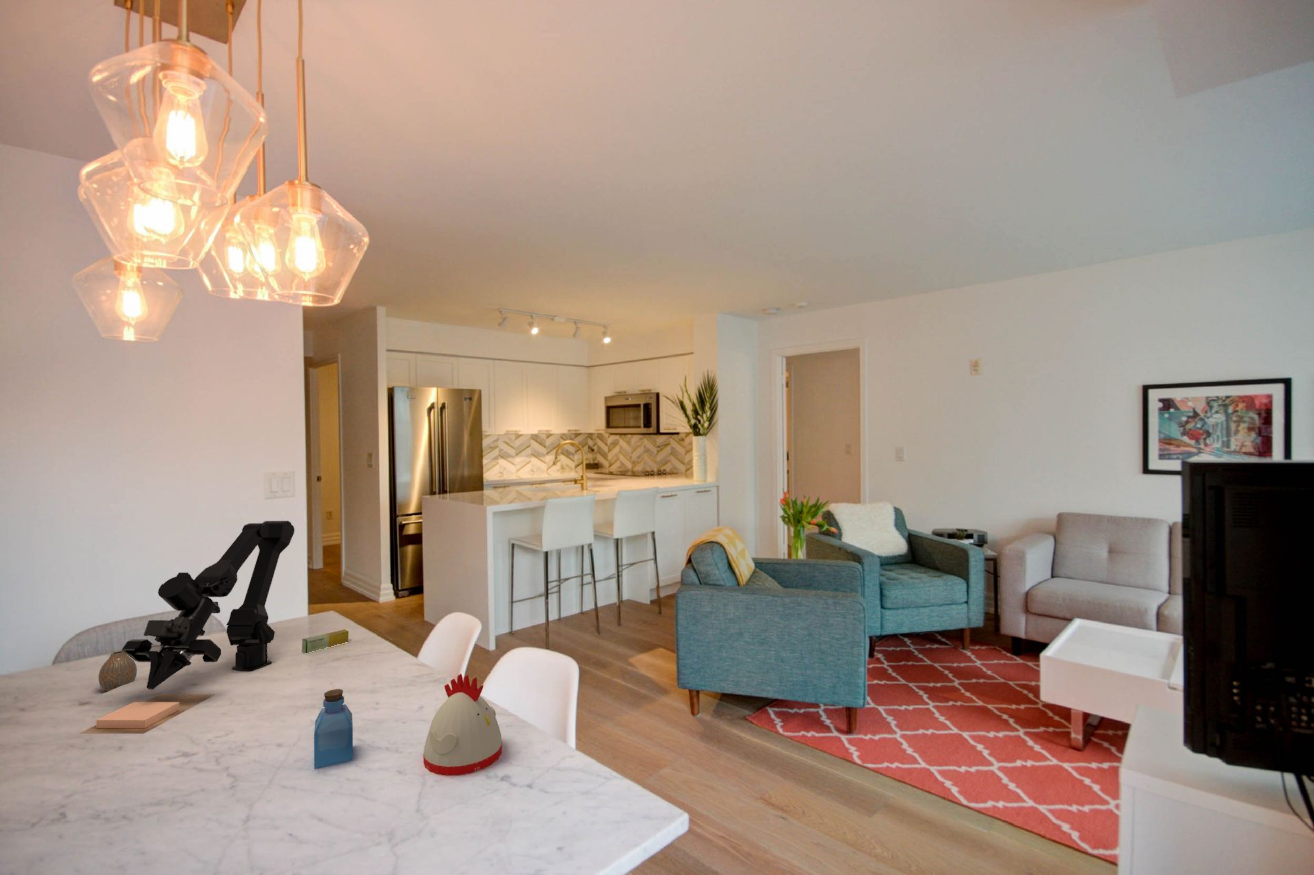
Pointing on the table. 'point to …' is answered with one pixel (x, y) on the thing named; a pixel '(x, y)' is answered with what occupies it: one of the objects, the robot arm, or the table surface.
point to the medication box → (324, 641)
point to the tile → (138, 715)
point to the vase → (117, 671)
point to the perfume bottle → (333, 731)
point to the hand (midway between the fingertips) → (149, 688)
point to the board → (184, 704)
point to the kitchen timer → (462, 732)
